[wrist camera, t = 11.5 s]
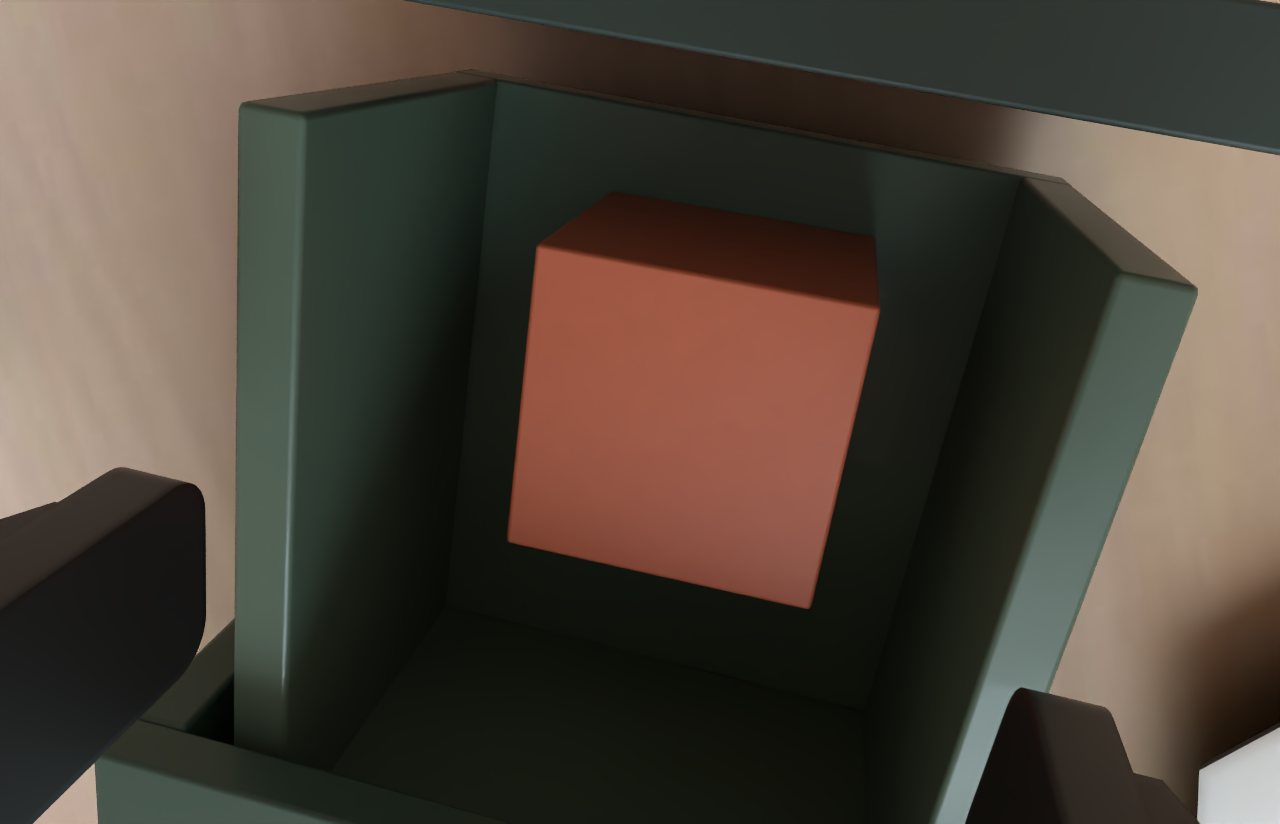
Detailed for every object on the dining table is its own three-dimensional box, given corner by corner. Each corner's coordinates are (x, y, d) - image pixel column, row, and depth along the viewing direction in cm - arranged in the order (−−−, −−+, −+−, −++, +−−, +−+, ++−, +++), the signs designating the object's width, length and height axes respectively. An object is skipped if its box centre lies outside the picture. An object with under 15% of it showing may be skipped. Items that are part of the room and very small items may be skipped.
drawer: (474, -412, 16) (147, -775, 8) (1267, -314, 14) (1682, -646, 7) (396, 593, 22) (178, 864, 15) (928, 727, 21) (964, 1095, 14)
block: (580, 431, 19) (505, 543, 15) (611, 190, 17) (535, 242, 13) (820, 481, 18) (810, 611, 14) (876, 236, 17) (882, 306, 13)
